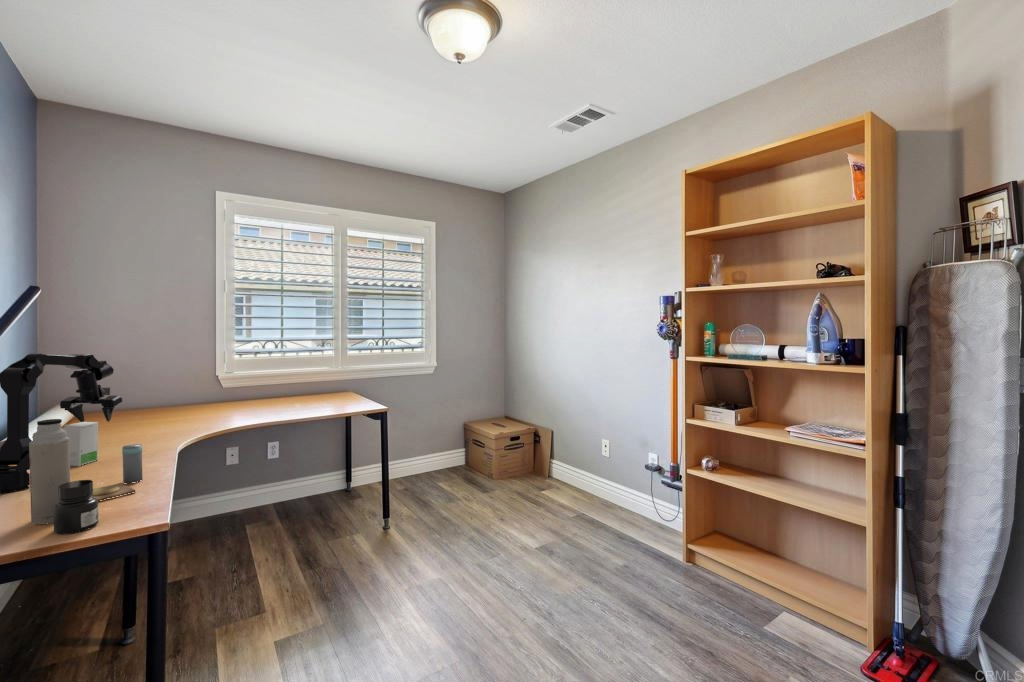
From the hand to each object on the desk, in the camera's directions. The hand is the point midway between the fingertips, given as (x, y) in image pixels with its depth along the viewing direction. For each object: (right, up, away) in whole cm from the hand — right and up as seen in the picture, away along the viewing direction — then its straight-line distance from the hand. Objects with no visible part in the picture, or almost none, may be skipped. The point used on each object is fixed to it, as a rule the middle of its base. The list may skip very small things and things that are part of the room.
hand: (96, 421), depth 187 cm
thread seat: (+36, -17, -37) cm, 54 cm away
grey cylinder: (+34, -17, -24) cm, 45 cm away
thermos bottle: (+37, -18, -55) cm, 69 cm away
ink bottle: (+49, -18, -61) cm, 80 cm away
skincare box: (-2, -16, -4) cm, 16 cm away
